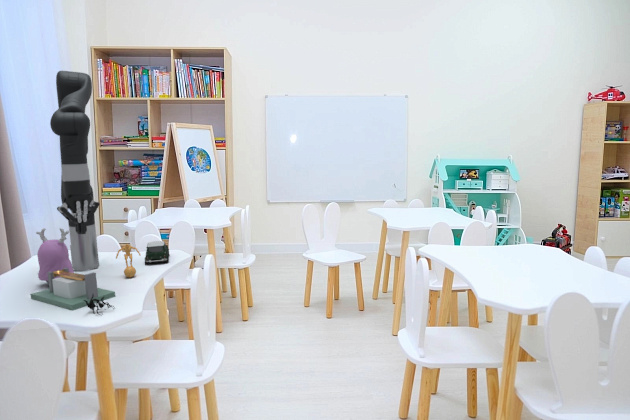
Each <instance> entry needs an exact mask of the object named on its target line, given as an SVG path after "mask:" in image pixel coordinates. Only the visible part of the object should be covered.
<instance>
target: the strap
mask: <svg viewBox="0 0 630 420" xmlns="http://www.w3.org/2000/svg"><path fill="white" fill-rule="evenodd" d="M77 273H78V272H74V273H71V272H65V271H64V270H63V269H62V270H58V271H54V272H53V274H54V277H57V276H59V277H65V278H70V279H75V280H80V281H84V280H85V278H84V275H85V274H84V275H82V274H83V273H79V274H77Z"/></svg>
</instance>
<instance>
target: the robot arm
mask: <svg viewBox="0 0 630 420" xmlns="http://www.w3.org/2000/svg"><path fill="white" fill-rule="evenodd" d="M55 77H56V78H55V82H56V83H55V84H56V85H55V86H56V87H55V88H56V95H57V96H56V97H57V104H58V108H57V110H56V111H54V112H53V113H52V116H51V118H50V123H49V125H50V129H51V130H52V132H53V134H55V135H57V137H59V150H60V151H59V152H60V163H61V164H60V165H61V174H60V175H61V177H60V178H61V181H60V199H61V205H60V206H57V207H56V210H57V211H58V212H59V213H60V214H61V215H62V216H63V218H65V219H66V220H67V221H68V231H69V238H70V239H69V240H70V245H69V247H70V249H69V250H70V256H71V257H70V258H71V264H72V268H73V271H78V272H81V271H82V272H83V271H90V270H95V269H97V268H99V267H100V260H99V249H98V248H99V247H98V239H97V231H96V221H95V219H96V216H95V214H96V211H97V209H98V208H99V206H100V202H98V201H95V199H94V191H93V187H92V185H91V179H90V178H91V177H90V175H91V174H90V169H89V166H88V165H89V164H88V152H89V133H90V128H91V120H90V118H89V116H88V115H87V114H86V108H87V107H86V106H87V104H88V103H89V101H90V99H91V96H92V91H93V85H92V84H93V83H92V77H91V76H90V74H88V73H85V72H79V71H68V70H59V71H57V73H56V76H55ZM69 210H70V212H69Z"/></svg>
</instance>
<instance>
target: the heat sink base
mask: <svg viewBox="0 0 630 420" xmlns="http://www.w3.org/2000/svg"><path fill="white" fill-rule="evenodd" d="M63 270H64V271H65V272H69V268H63ZM76 273H77V274H80V272H76ZM47 274H48V283H49V284H48V283H47V284H48V288H46V289H44V290H39V291H36V292H32V293H30V300H31V299H32V300H36V301H40V302H42V303H46V304H50V305H53V306H57V307H60V308H62V309H67V310H71V311H74V310H77V309H81V308H84V307H86V306H87V304H86V302H85V301H83V300H86V301H87V302H88V303H89V302H90V300H91V298H92V296H93V294H94V296H93V299H98V300H100V301H99V302H102V301H101V298H103V297H104V298H103V301H104V300H105V301H106V300H108V299H111V298H114V297H116V291H114V290H109V289H106V288H100V287H98V283H97V281H98V280H97V273H96V272H94V271H92V272H89V273H86V274H85V273H84V274H83V273H81V274H82V275H84V278H85V280H84V281H80V280H75V279H70V278H65V277H59V278H55V279H54V274H53V272H51V271H50V272H47ZM93 299H92V300H93ZM93 302H94V304H96V301H93ZM87 307H88V306H87Z"/></svg>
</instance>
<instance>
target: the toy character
mask: <svg viewBox="0 0 630 420" xmlns="http://www.w3.org/2000/svg"><path fill="white" fill-rule="evenodd" d="M46 230H47V229H46V228H44V227H43V228H42V229H41V231H36V232H35V234H37V235H39V238H40V240H41V241H42V243H40V245H39V248H38V251H37V262H38V266H39V267H38V268H39V270H38V273H37V276H38V277H37V278H38V279H39V281H44V282H46V283H47V284H48V285H49V283H48V274H47V272H50V271H51V272H54V271H58V270H62V269H63V268H69V272H71V273H75V270H73V268H72V260H70V257H69V256H70V254H69V249H68V247H67V245H66V244H65V241H66V240H68V238H67V235H68V234H70V232H69V230H66V231H65V230H64V228H61V227H59V231H60V233H61V234H60V236H61V237H60V238H59V239H48V238H47V237H46V236H45V231H46ZM55 278H59V276H57V277H54V279H55Z"/></svg>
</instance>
